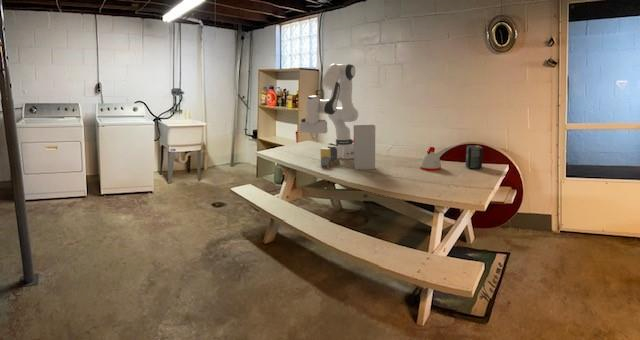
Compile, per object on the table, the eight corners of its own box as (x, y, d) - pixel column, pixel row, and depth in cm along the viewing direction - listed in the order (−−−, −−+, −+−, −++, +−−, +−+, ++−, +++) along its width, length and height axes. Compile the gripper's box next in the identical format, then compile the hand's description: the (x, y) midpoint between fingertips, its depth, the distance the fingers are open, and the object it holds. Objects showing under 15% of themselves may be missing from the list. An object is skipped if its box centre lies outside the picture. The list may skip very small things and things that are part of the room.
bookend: (323, 165, 298) (322, 157, 297) (330, 166, 296) (330, 157, 295) (321, 166, 296) (321, 158, 294) (329, 166, 293) (328, 158, 292)
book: (323, 164, 303) (322, 147, 300) (330, 164, 301) (330, 148, 298) (320, 165, 299) (320, 148, 297) (328, 165, 297) (328, 149, 294)
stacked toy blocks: (327, 162, 311) (326, 145, 308) (339, 163, 307) (339, 146, 304) (315, 168, 293) (314, 150, 290) (328, 169, 289) (328, 151, 286)
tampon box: (482, 169, 279) (483, 147, 276) (467, 169, 281) (468, 147, 278) (479, 165, 290) (480, 145, 287) (465, 165, 292) (466, 144, 288)
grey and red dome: (444, 168, 285) (445, 146, 282) (433, 171, 276) (434, 149, 273) (427, 165, 295) (428, 144, 292) (415, 168, 286) (416, 147, 283)
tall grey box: (373, 167, 293) (374, 124, 287) (375, 169, 288) (375, 125, 281) (353, 167, 293) (353, 125, 286) (354, 169, 288) (354, 126, 281)
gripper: (328, 119, 288) (329, 139, 291) (302, 118, 296) (303, 137, 299) (325, 120, 282) (325, 140, 285) (298, 119, 290) (299, 139, 294)
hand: (313, 139), depth 292 cm, fingers closed
